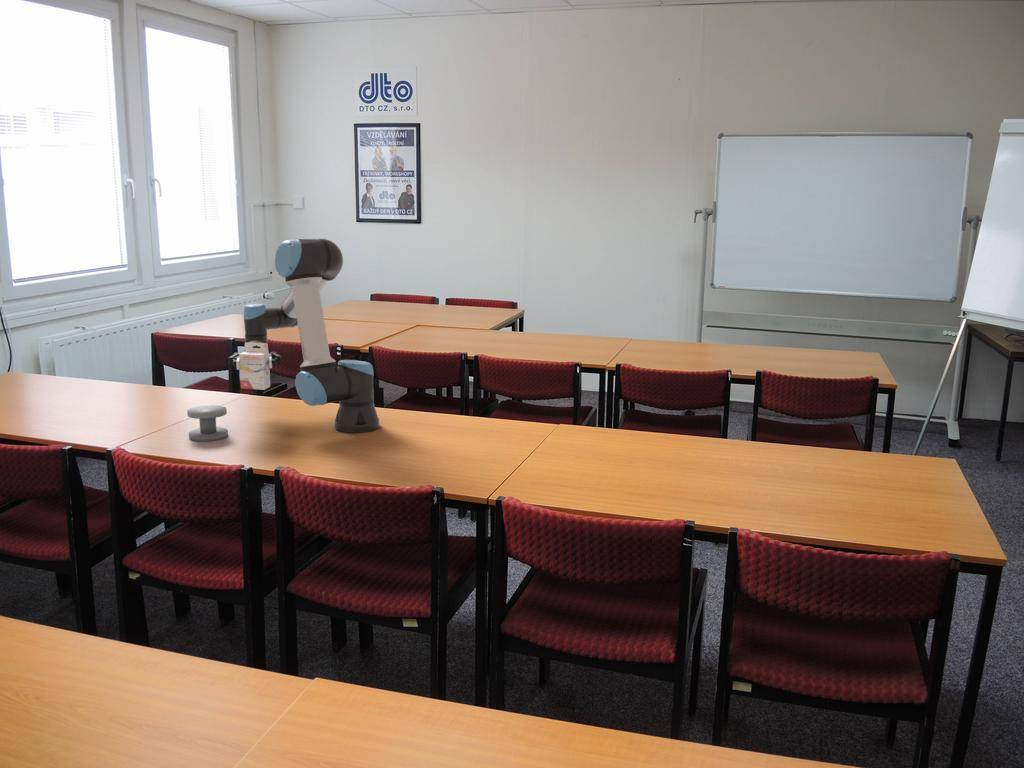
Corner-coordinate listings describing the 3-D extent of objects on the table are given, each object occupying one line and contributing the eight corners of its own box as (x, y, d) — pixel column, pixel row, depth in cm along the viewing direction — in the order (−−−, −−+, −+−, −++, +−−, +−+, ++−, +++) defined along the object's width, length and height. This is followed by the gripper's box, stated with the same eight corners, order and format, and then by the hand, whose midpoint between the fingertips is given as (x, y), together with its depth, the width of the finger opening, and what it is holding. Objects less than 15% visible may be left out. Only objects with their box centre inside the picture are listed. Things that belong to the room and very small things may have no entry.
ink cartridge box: (240, 388, 272) (237, 344, 269) (246, 385, 277) (244, 342, 274) (265, 390, 271) (262, 345, 268) (271, 386, 276) (269, 342, 273)
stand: (235, 434, 275) (234, 407, 273) (209, 443, 264) (207, 416, 262) (208, 429, 280) (206, 403, 278) (180, 438, 269) (178, 411, 267)
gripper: (289, 362, 293) (289, 374, 272) (223, 364, 287) (218, 377, 266) (288, 341, 291) (288, 352, 270) (221, 343, 286) (217, 354, 264)
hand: (254, 364), depth 268 cm, fingers closed on ink cartridge box, 9 cm apart
